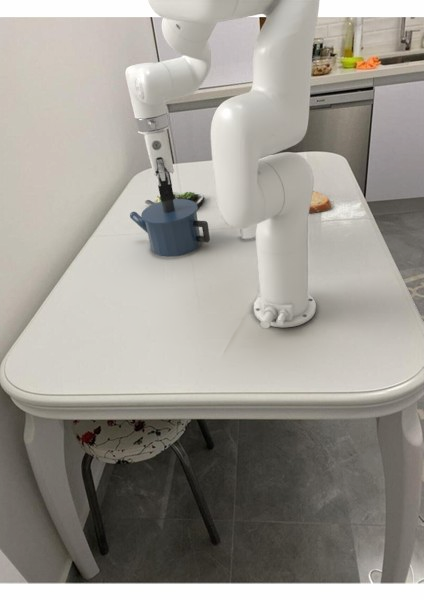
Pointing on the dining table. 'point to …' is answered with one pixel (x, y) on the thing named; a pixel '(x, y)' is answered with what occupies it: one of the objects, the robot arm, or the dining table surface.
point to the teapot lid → (169, 211)
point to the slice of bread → (319, 203)
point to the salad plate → (191, 196)
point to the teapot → (173, 237)
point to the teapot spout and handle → (203, 224)
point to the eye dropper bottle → (248, 232)
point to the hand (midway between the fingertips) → (167, 193)
